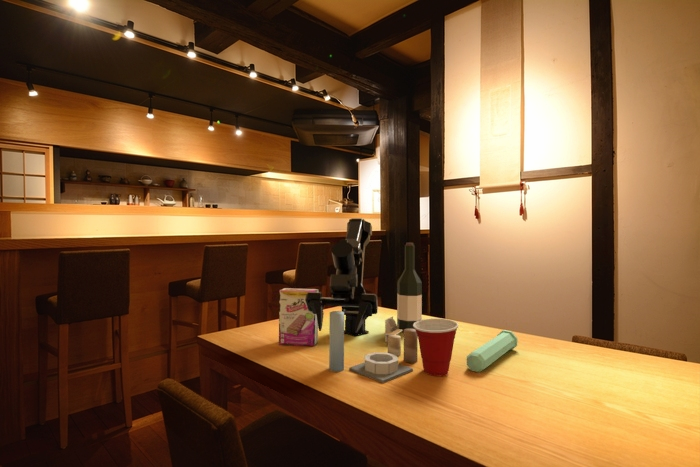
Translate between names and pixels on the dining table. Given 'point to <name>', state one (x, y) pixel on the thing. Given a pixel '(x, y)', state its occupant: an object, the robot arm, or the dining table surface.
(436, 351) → the plastic cup
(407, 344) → the medium dowel
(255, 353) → the dining table surface
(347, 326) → the robot arm
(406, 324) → the wine bottle
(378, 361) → the socket
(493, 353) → the container
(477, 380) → the dining table surface
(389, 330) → the architectural model
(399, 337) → the short dowel
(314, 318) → the candy bar box
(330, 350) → the long dowel
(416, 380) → the dining table surface
